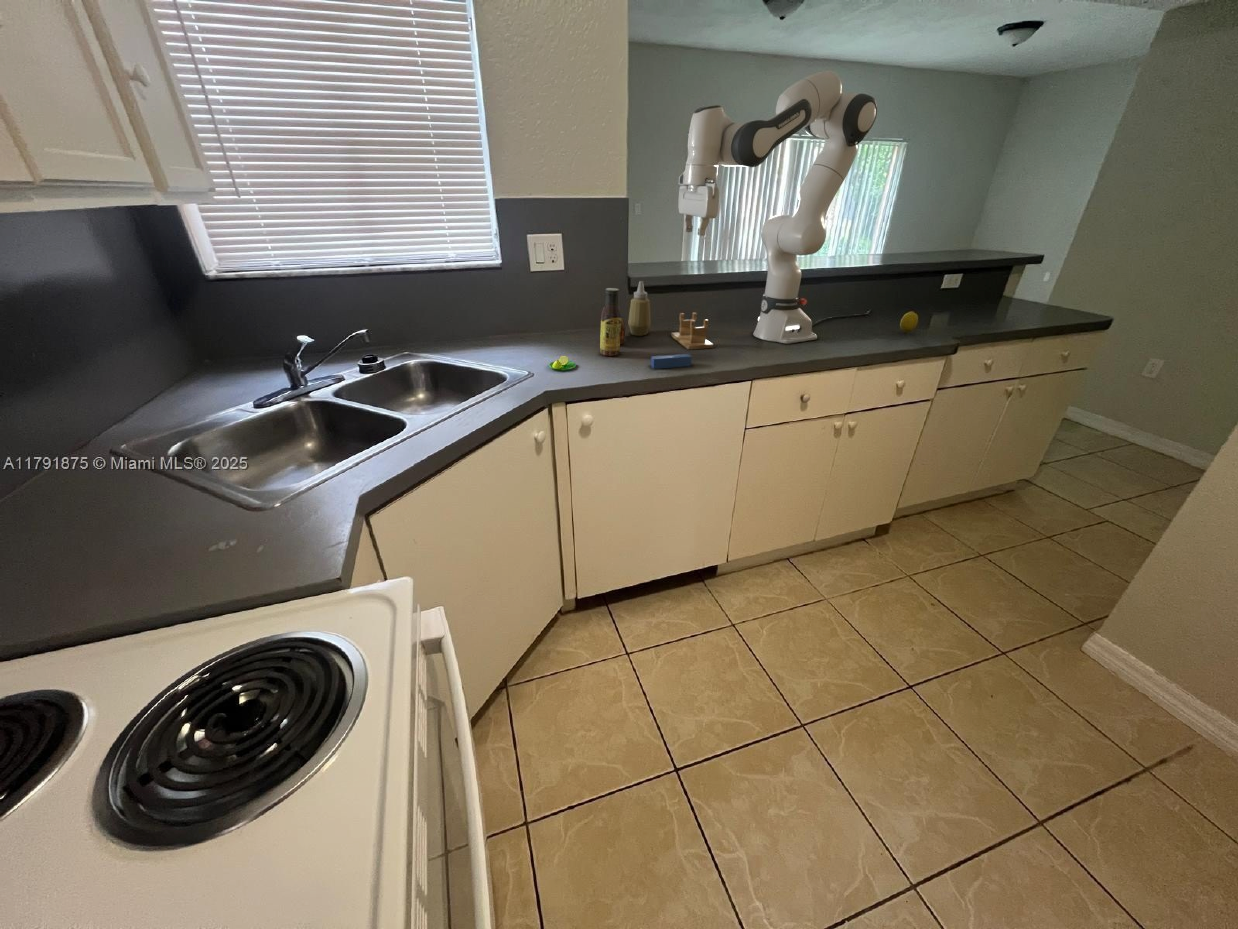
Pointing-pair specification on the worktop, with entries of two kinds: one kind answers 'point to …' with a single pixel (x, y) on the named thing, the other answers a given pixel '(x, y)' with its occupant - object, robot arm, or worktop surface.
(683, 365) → the handle
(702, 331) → the holder
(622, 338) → the tin
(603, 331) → the sauce bottle
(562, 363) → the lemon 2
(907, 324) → the lemon
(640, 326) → the squeeze bottle
